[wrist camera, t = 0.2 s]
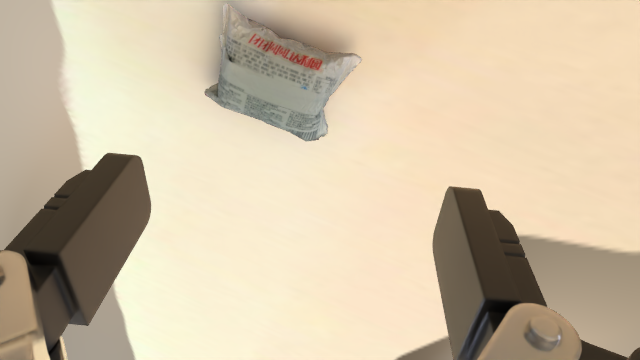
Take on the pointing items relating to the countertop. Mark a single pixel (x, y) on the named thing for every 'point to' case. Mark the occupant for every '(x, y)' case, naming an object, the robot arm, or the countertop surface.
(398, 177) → the countertop surface
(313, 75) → the packaged food
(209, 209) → the countertop surface
